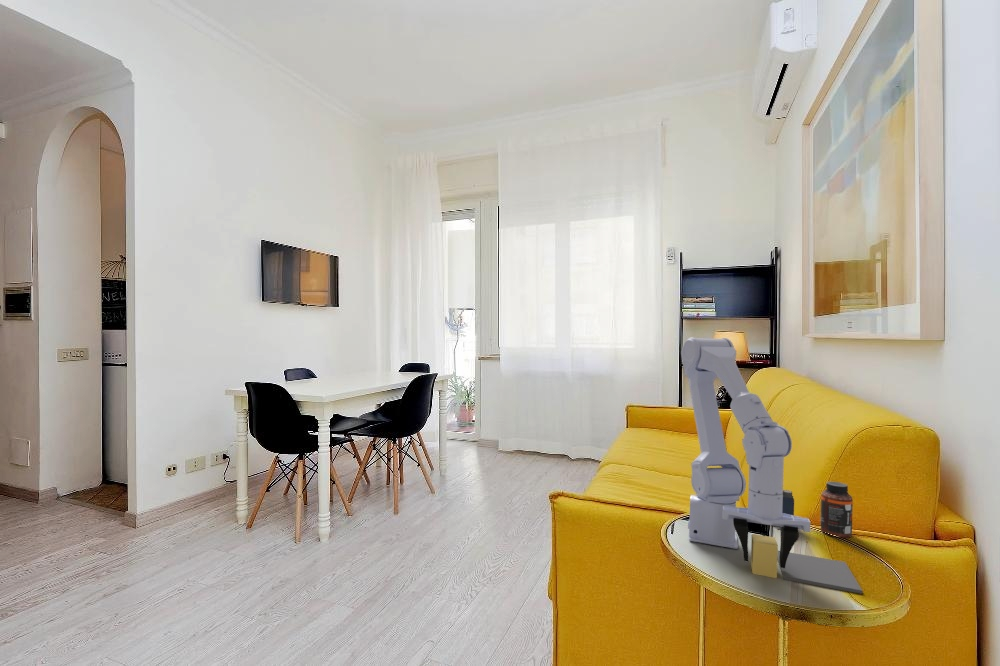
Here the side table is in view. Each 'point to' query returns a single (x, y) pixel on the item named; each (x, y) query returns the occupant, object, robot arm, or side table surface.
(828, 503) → the supplement bottle
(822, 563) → the charcoal mat
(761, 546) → the mustard block
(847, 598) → the side table surface
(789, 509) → the vaping device
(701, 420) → the robot arm
